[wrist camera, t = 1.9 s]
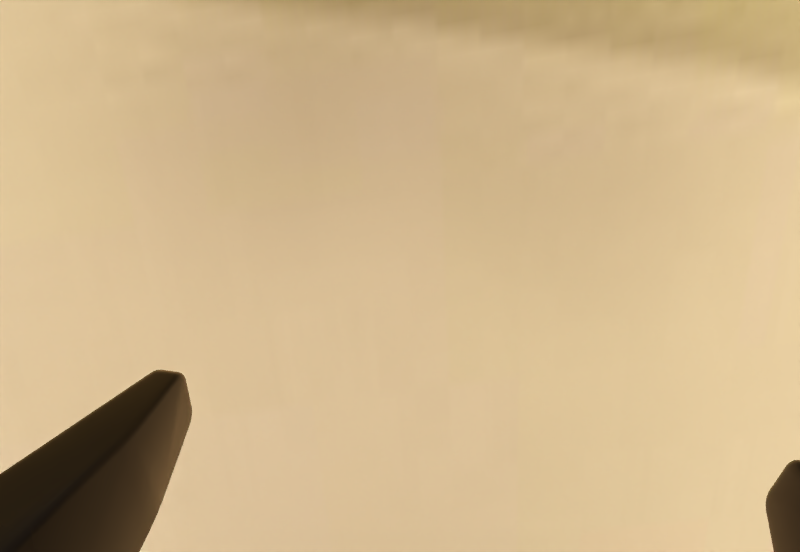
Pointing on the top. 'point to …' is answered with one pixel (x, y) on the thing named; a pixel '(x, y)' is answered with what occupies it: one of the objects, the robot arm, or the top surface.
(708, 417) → the top surface
